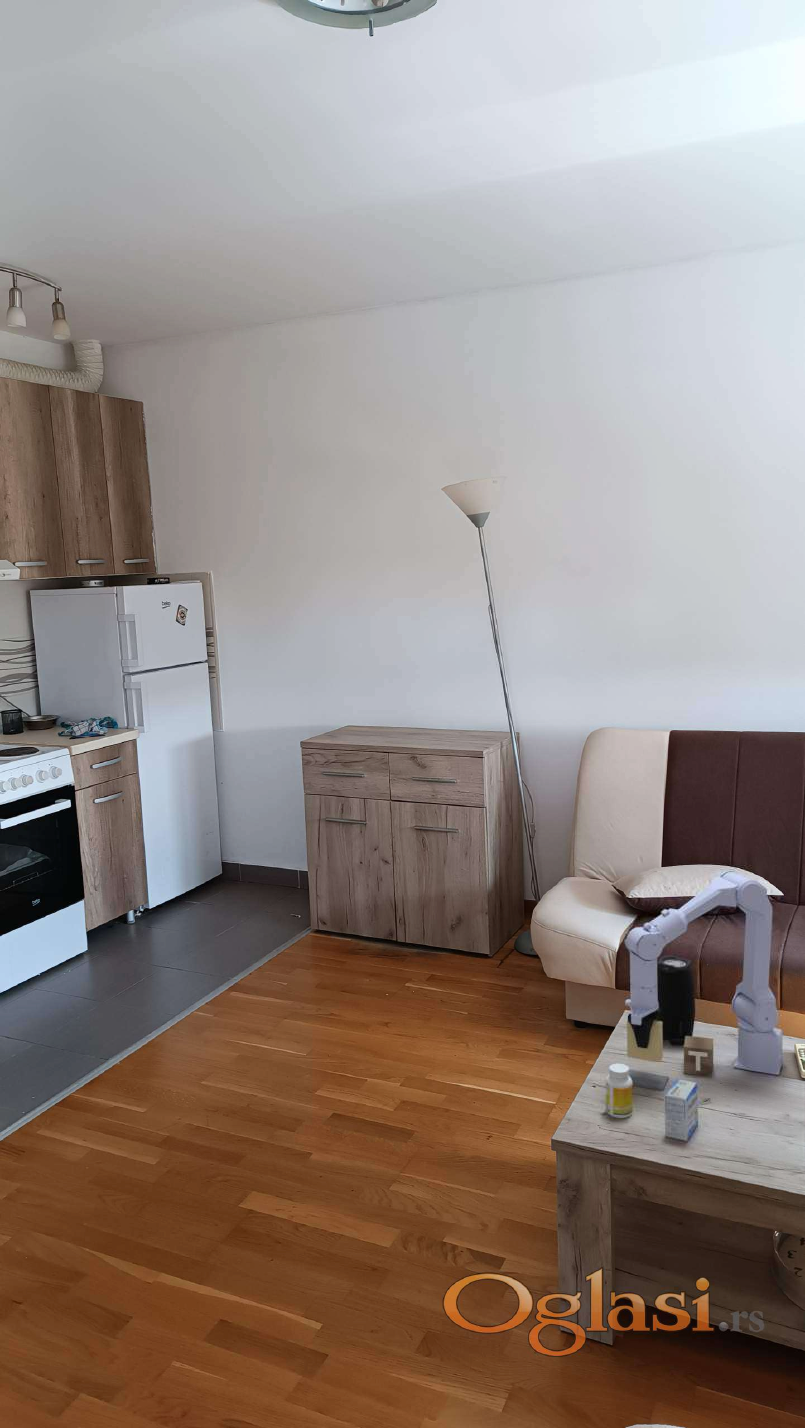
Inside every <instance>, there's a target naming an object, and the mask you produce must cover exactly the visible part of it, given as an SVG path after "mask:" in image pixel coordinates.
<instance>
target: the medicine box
mask: <svg viewBox="0 0 805 1428" xmlns="http://www.w3.org/2000/svg"><path fill="white" fill-rule="evenodd" d="M698 1091H699V1088H698V1083H696V1082H693V1081H690V1080H685V1079H678V1078H677V1079H676V1080H675V1082H673V1084H672V1085H671V1087H670V1088H669V1090H668V1091H667V1092H666V1093H665V1095H664V1129H665V1131H664V1133H665V1137H667V1138H670V1139H671V1138H672V1139H676V1140H679V1141H680V1140H681V1141H685V1142H688V1141H689V1138H690V1137H691V1136H692V1134H693V1132H694V1131H695V1129H696V1127H697V1126H698V1125H699V1103H698V1102H699V1095H698V1093H699V1092H698Z"/></svg>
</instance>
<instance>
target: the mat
mask: <svg viewBox="0 0 805 1428" xmlns="http://www.w3.org/2000/svg"><path fill="white" fill-rule="evenodd" d="M629 1077H630V1078H631V1079H632V1083H633V1086H634V1087H640V1088H646V1089H652V1090H656V1091H660V1092H661V1091H664V1089H665V1088H666V1085H667V1083H668V1081H669V1080H670V1076H667V1075H662V1074H657V1073H651V1072H645V1071H642V1070H641V1071H640V1070H635V1069H630V1068H629Z"/></svg>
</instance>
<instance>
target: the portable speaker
mask: <svg viewBox="0 0 805 1428" xmlns="http://www.w3.org/2000/svg"><path fill="white" fill-rule="evenodd" d="M692 968H693V963H692V961H691V959H687V958H683V957H679V956H676V955H673V954H667V955H666V954H665V955H663V956H660V957H659V959H658V960H657V994H658V1004H659V1008H660V1009H661V1011H660V1013H659V1015H658V1017H657V1020H656V1021H661V1022H662V1033H663V1041H666V1042H668V1043H669V1044H670V1045H671V1046H673V1047H684V1043H685V1036H693V1034H694V1027H695V1021H696V1019H695V1018H696V993H695V987H696V986H695V985H696V984H695V980H694V974H693V969H692Z"/></svg>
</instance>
